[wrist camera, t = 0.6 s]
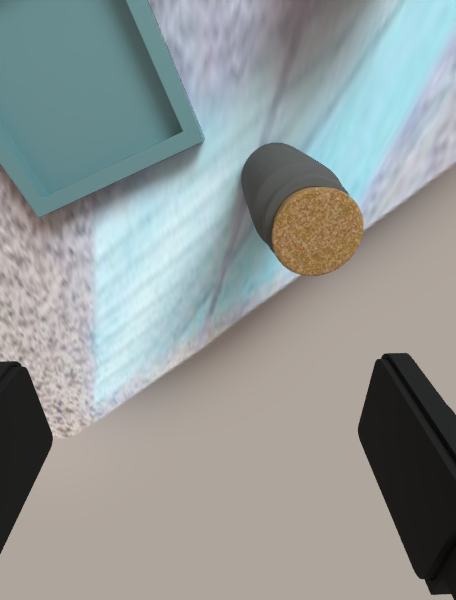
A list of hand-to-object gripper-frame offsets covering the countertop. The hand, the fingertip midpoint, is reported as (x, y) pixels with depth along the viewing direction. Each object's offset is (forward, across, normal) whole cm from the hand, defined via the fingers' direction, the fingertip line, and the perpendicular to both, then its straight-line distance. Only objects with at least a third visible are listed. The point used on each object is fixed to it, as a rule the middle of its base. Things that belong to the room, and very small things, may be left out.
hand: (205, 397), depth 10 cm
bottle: (+25, -5, -1) cm, 26 cm away
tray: (+25, +11, -8) cm, 28 cm away
